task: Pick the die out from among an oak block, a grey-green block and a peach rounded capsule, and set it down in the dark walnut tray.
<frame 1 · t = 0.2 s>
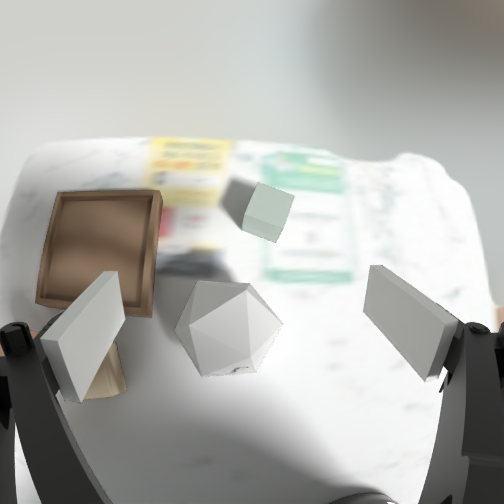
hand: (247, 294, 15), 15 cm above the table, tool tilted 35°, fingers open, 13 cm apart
walnut tray: (100, 253, 30), on the table
die: (225, 331, 29), on the table
oak block: (100, 370, 26), on the table
grey-green block: (264, 221, 33), on the table
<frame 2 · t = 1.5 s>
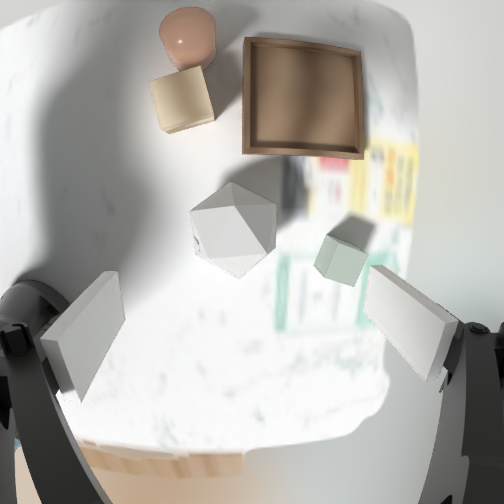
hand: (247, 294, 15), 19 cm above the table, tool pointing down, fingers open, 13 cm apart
walnut tray: (301, 99, 30), on the table
die: (232, 222, 33), on the table
peach rounded capsule: (193, 53, 27), on the table
oak block: (186, 106, 29), on the table
grey-green block: (333, 255, 35), on the table
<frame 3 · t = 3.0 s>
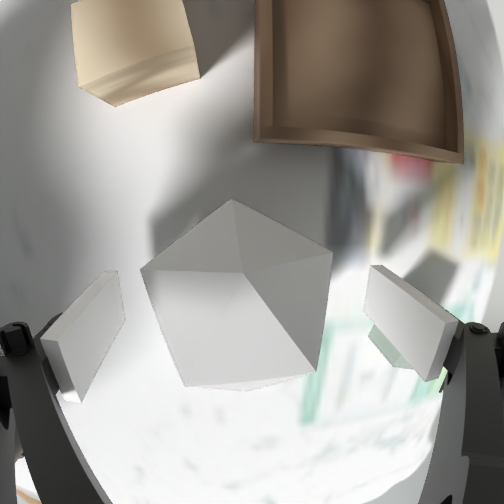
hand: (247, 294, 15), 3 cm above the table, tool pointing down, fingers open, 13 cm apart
walnut tray: (359, 51, 14), on the table
die: (235, 273, 18), on the table
oak block: (148, 55, 13), on the table
grey-green block: (398, 317, 20), on the table
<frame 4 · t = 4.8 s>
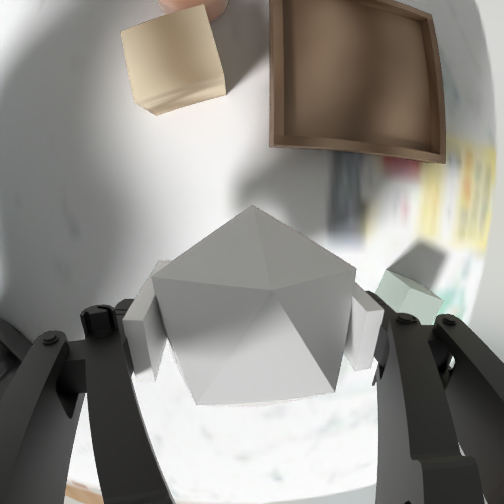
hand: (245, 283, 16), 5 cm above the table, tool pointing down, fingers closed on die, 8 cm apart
walnut tray: (356, 70, 18), on the table
die: (246, 282, 17), point 5 cm above the table, touching gripper
peach rounded capsule: (195, 1, 16), on the table
oak block: (183, 74, 18), on the table
grey-green block: (392, 296, 23), on the table
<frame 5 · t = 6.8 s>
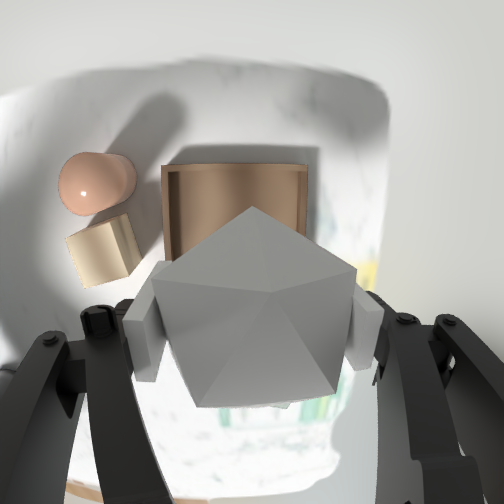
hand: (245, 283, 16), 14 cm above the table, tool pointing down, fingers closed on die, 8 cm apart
walnut tray: (234, 230, 29), on the table
die: (246, 283, 17), point 13 cm above the table, touching gripper
peach rounded capsule: (113, 179, 27), on the table
oak block: (113, 242, 28), on the table
when the fingers open (3 cm above the table, at t = 9.1 s): die drops 1 cm, resting on walnut tray.
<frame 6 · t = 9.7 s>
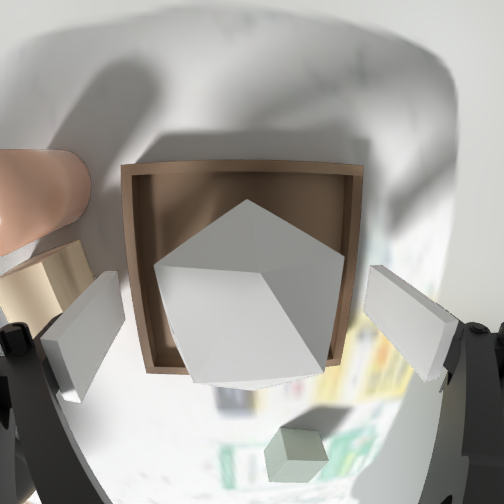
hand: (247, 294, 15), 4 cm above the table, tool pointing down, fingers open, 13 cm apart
walnut tray: (241, 267, 19), on the table
die: (244, 273, 18), point 1 cm above the table, touching walnut tray
peach rounded capsule: (59, 188, 16), on the table
oak block: (65, 281, 18), on the table
grey-green block: (290, 440, 24), on the table
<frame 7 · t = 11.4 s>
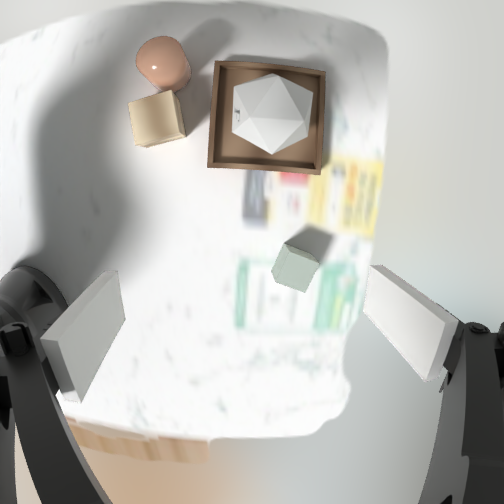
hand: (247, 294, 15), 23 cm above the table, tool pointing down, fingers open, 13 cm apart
walnut tray: (266, 118, 33), on the table
die: (267, 117, 32), point 1 cm above the table, touching walnut tray
peach rounded capsule: (171, 74, 31), on the table
oak block: (163, 123, 33), on the table
grey-green block: (291, 262, 39), on the table
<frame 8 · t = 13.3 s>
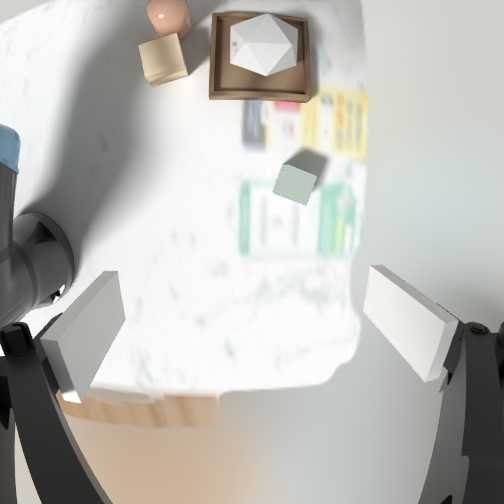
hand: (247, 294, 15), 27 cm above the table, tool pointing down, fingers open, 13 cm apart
walnut tray: (258, 57, 34), on the table
die: (260, 55, 33), point 1 cm above the table, touching walnut tray
peach rounded capsule: (174, 27, 32), on the table
oak block: (167, 66, 34), on the table
grey-green block: (290, 183, 40), on the table
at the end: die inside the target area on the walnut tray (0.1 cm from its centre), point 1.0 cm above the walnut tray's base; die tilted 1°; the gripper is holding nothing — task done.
